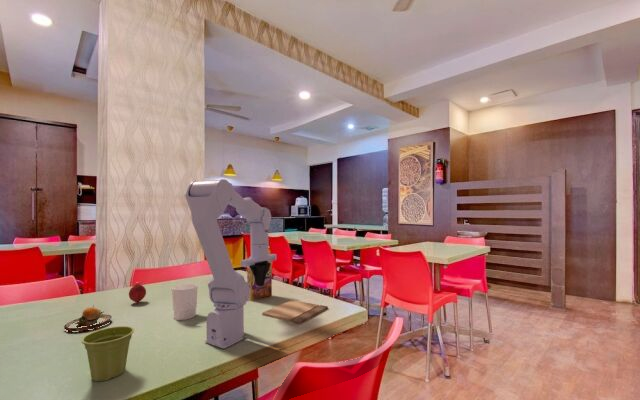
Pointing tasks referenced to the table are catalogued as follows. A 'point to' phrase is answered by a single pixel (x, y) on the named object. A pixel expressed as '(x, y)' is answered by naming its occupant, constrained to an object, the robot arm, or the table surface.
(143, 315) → the table surface
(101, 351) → the plant pot
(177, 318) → the white cup
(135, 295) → the onion
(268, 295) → the candy box
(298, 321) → the laid walnut plank
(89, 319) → the fruit on decorative plate
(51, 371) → the table surface
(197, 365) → the table surface
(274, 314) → the oak click plank
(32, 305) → the table surface
